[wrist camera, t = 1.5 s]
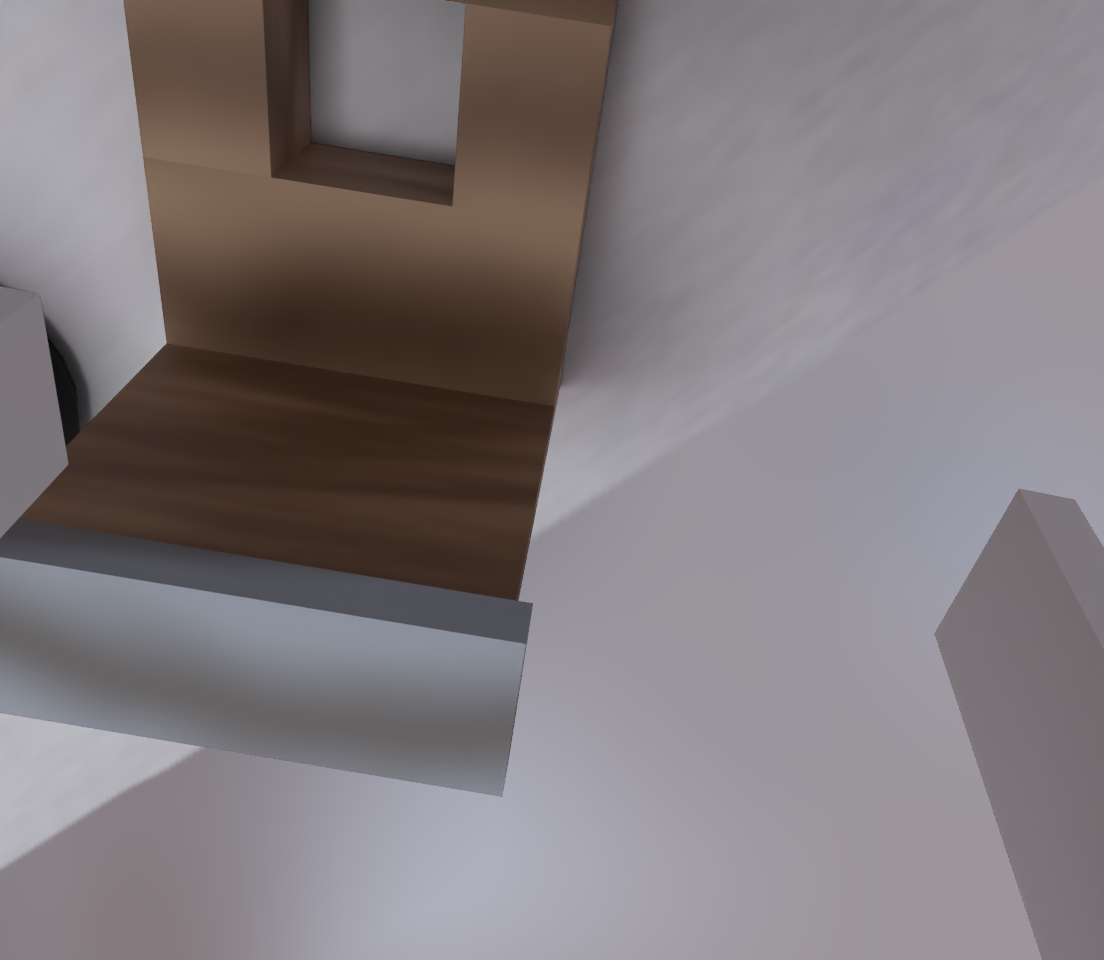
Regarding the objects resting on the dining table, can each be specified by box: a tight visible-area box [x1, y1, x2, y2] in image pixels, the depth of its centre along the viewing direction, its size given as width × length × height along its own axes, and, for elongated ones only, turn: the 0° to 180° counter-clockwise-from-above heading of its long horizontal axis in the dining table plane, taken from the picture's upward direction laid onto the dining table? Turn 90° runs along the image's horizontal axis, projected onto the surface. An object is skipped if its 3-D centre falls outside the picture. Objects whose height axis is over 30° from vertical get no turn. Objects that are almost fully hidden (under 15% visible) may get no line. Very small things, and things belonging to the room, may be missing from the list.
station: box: [0, 0, 618, 797], centre depth 25 cm, size 16×15×19 cm
